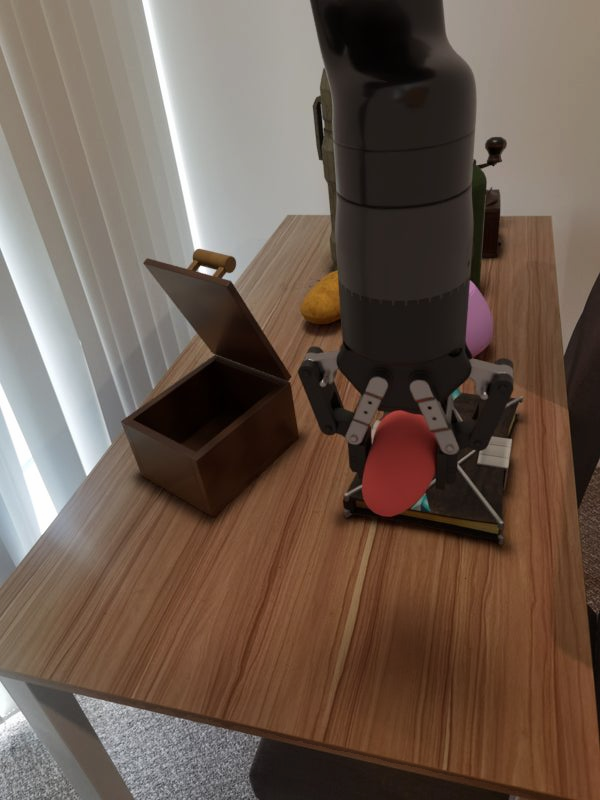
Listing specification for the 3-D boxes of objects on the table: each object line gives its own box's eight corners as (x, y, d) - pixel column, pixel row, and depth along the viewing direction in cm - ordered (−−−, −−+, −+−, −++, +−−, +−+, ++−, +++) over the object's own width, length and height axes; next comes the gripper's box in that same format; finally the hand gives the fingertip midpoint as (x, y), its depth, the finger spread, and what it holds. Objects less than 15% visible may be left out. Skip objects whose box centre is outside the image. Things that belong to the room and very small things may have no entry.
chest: (213, 517, 69) (196, 460, 63) (141, 475, 76) (120, 421, 70) (299, 438, 78) (290, 382, 72) (228, 407, 85) (215, 354, 80)
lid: (226, 286, 59) (254, 250, 60) (142, 263, 66) (169, 230, 68) (288, 381, 72) (309, 349, 74) (212, 353, 79) (233, 325, 81)
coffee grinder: (501, 258, 111) (510, 158, 101) (440, 258, 114) (442, 161, 103) (499, 225, 123) (507, 132, 112) (444, 226, 126) (447, 136, 115)
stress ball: (462, 474, 46) (445, 396, 46) (428, 523, 39) (407, 430, 38) (400, 479, 49) (382, 405, 48) (356, 525, 41) (335, 439, 41)
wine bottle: (422, 291, 105) (423, 105, 87) (457, 276, 108) (465, 93, 90) (454, 307, 99) (461, 112, 81) (489, 292, 102) (504, 99, 84)
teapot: (414, 311, 100) (413, 240, 92) (502, 320, 95) (509, 245, 87) (377, 379, 86) (373, 302, 78) (478, 394, 81) (485, 313, 73)
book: (390, 400, 82) (389, 370, 79) (520, 416, 76) (524, 385, 73) (343, 518, 66) (339, 486, 63) (502, 550, 60) (507, 517, 57)
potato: (368, 299, 105) (367, 263, 101) (335, 340, 96) (331, 302, 92) (329, 294, 108) (325, 259, 104) (293, 332, 99) (287, 295, 95)
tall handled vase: (376, 282, 110) (366, 67, 89) (318, 275, 115) (296, 70, 94) (393, 261, 116) (388, 56, 95) (338, 255, 121) (321, 59, 100)
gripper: (264, 291, 33) (297, 501, 44) (538, 300, 29) (504, 529, 40) (300, 237, 39) (321, 434, 49) (534, 239, 35) (505, 453, 45)
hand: (403, 476), depth 44 cm, fingers closed on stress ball, 5 cm apart
